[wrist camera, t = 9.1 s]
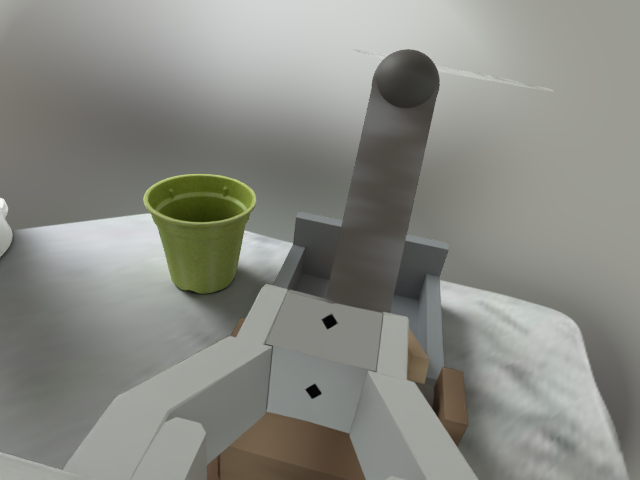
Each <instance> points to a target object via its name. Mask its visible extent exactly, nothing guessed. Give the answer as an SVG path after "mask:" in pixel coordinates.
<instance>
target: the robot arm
mask: <svg viewBox="0 0 640 480" xmlns="http://www.w3.org/2000/svg"><path fill="white" fill-rule="evenodd" d="M7 214H8V206H7V204H6V202H5V200H4V199H2V198H0V257H1V256H2V255H3V254H4V253H5V251H6V250H7V249H8V248H9V246H10V244H11V242H12V238H13V233H12V230H11V228H10V226H9V225H8V223H7V221H6V216H7ZM408 336H409V319H408V317H406V316H401V315H396V314H392V313H387V312H383V313H382V312H380V311H376V310H371V309H367V308H362V307H358V306H354V305H349V304H345V303H341V302H336V301H333V300H329V299H325V298H321V297H317V296H313V295H309V294H306V293H302V292H298V291H294V290H288V289H285V288H281V287H277V286H273V285H269V284H265V285H264V286H263V287H262V288H261V290H260V292H259V294H258V296H257V298H256V300H255V302H254V304H253V306H252V308H251V309H250V311H249V313H248V315H247V317H246V319H245V321H244V323H243V325H242V327H241V329H240V331H239V333H238V335H237V337H232V336H228V337H226V338H224V339H222V340H220V341H218V342H216V343H215V344H213V345H211V346H209V347H207V348H205V349H204V350H202V351H200V352H198V353H196V354H194V355H192V356H191V357H189V358H187V359H185V360H183V361H181V362H179V363H178V364H176V365H174V366H172V367H170V368H168V369H167V370H165V371H163V372H161V373H159V374H157V375H155V376H154V377H152V378H150V379H148V380H146V381H144V382H143V383H141V384H139V385H137V386H135V387H133V388H131V389H130V390H128V391H126V392H124V393H122V394H120V395H118V396H117V397H115V398H114V399H113V401H112V402H111V404H110V405H109V406H108V408H107V409H106V410H105V412H104V413H103V414H102V416H101V417H100V418H99V420H98V421H97V423H96V424H95V425H94V427H93V428H92V429H91V431H90V432H89V433H88V435H87V436H86V438H85V439H84V440H83V442H82V443H81V444H80V446H79V447H78V448H77V450H76V451H75V452H74V454H73V455H72V457H71V458H70V459H69V461H68V462H67V463H66V465H65V466H64V467H63V469H62V470H61V469H57V468H54V467H51V466H47V465H44V464H40V463H37V462H34V461H30V460H27V459H23V458H20V457H17V456H13V455H10V454H6V453H3V452H0V480H207V465H208V464H209V463H210V462H211V461H212V460H214V459H215V458H216V457H217V456H218V455H219V454H220V453H222V452H223V451H224V450H225V449H226V448H227V447H228V446H230V445H231V444H232V443H233V442H234V441H235V440H236V439H238V438H239V437H240V436H241V435H242V434H243V433H244V432H246V431H247V430H248V429H249V428H250V427H251V426H252V425H254V424H255V423H256V422H257V421H258V420H259V419H260V418H262V417H263V416H264V415H265V414H266V412H271V413H275V414H279V415H283V416H288V417H292V418H296V419H300V420H304V421H308V422H312V423H315V424H319V425H322V426H325V427H329V428H332V429H336V430H339V431H342V432H346V433H349V434H350V439H351V441H352V444H353V447H354V449H355V452H356V455H357V457H358V460H359V463H360V466H361V468H362V471H363V474H364V476H365V479H366V480H479V479H478V478H477V476H476V475H475V473H474V472H473V470H472V469H471V467H470V466H469V464H468V463H467V461H466V460H465V458H464V457H463V455H462V454H461V452H460V451H459V449H458V448H457V446H456V444H455V443H454V441H453V440H452V438H451V437H450V435H449V434H448V432H447V431H446V429H445V428H444V426H443V425H442V423H441V422H440V420H439V419H438V417H437V416H436V414H435V412H434V411H433V409H432V408H431V406H430V405H429V403H428V402H427V400H426V399H425V397H424V396H423V394H422V393H421V391H420V390H419V388H418V387H417V385H416V384H415V382H412V381H408V380H407V363H408Z"/></svg>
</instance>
